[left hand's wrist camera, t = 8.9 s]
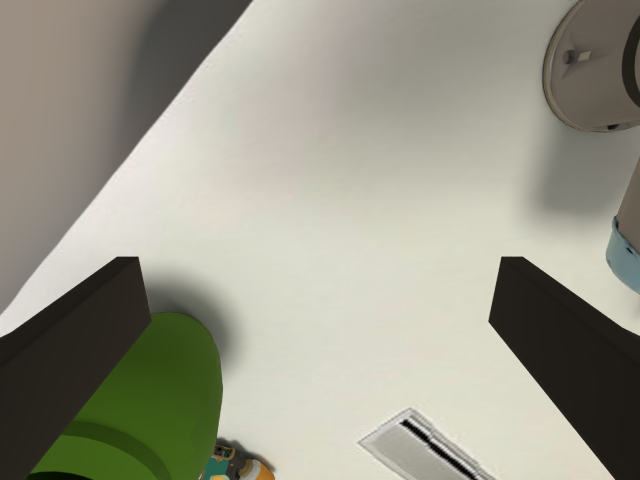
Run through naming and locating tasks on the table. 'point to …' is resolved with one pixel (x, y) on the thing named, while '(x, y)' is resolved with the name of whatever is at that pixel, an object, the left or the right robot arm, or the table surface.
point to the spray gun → (233, 467)
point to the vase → (147, 411)
